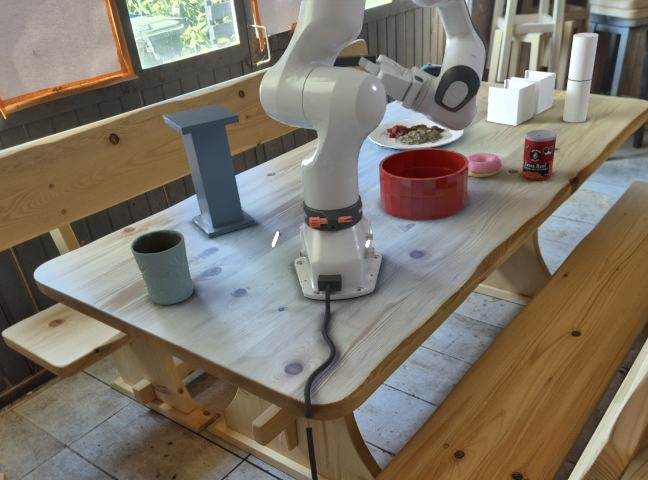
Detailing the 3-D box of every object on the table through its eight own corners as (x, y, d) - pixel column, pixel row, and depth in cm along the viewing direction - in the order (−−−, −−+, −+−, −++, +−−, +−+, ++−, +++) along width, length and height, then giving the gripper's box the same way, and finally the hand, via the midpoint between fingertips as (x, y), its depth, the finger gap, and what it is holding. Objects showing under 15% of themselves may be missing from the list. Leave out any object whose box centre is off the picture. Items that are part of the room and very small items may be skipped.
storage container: (516, 125, 195) (519, 90, 189) (487, 121, 201) (488, 86, 195) (552, 106, 210) (556, 73, 203) (524, 102, 216) (526, 70, 209)
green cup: (178, 276, 128) (163, 225, 121) (208, 290, 122) (194, 237, 115) (137, 298, 122) (119, 245, 115) (167, 313, 116) (150, 258, 109)
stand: (237, 207, 156) (216, 103, 140) (258, 224, 147) (238, 115, 131) (189, 221, 151) (162, 115, 135) (208, 239, 142) (181, 128, 126)
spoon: (375, 61, 141) (375, 51, 140) (376, 67, 136) (376, 56, 134) (298, 65, 142) (297, 55, 141) (295, 71, 136) (294, 61, 135)
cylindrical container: (562, 122, 195) (573, 37, 180) (563, 115, 200) (573, 33, 185) (585, 122, 193) (598, 36, 178) (585, 116, 198) (598, 32, 184)
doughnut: (489, 182, 158) (490, 166, 156) (453, 175, 164) (453, 160, 161) (508, 169, 165) (509, 154, 163) (473, 162, 171) (473, 148, 168)
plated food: (462, 153, 178) (462, 141, 176) (362, 154, 183) (362, 143, 181) (464, 122, 201) (464, 112, 199) (376, 125, 206) (375, 114, 204)
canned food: (518, 179, 159) (521, 137, 152) (526, 169, 164) (530, 128, 158) (547, 182, 155) (552, 140, 149) (554, 172, 161) (559, 130, 154)
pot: (474, 216, 142) (476, 175, 136) (384, 223, 142) (382, 183, 136) (458, 182, 159) (460, 145, 154) (378, 189, 160) (376, 152, 154)
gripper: (415, 65, 148) (366, 37, 144) (421, 84, 132) (365, 53, 128) (403, 89, 151) (354, 62, 148) (407, 111, 135) (352, 81, 131)
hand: (359, 58), depth 138 cm, fingers closed on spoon, 2 cm apart
